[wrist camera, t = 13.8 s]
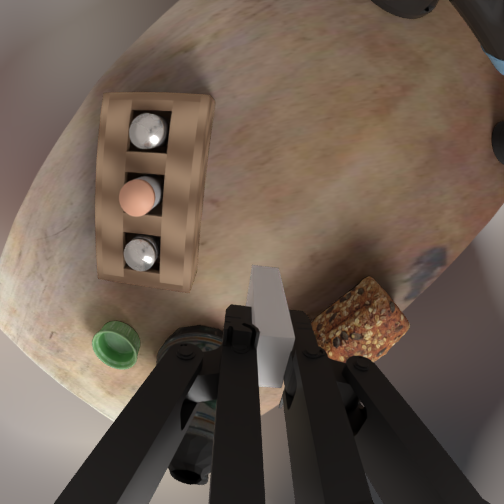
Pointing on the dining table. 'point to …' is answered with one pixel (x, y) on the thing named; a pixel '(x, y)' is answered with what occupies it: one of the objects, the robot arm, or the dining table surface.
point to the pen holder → (498, 141)
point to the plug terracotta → (141, 194)
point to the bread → (360, 324)
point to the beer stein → (202, 425)
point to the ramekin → (116, 345)
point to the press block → (175, 186)
